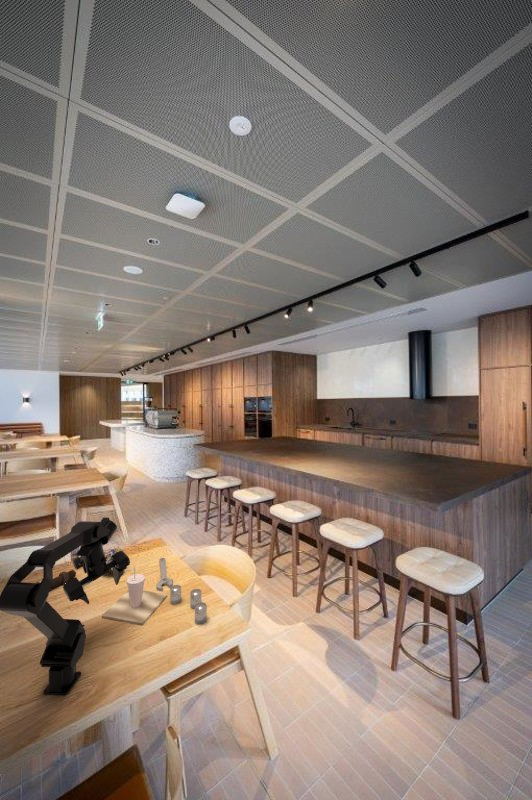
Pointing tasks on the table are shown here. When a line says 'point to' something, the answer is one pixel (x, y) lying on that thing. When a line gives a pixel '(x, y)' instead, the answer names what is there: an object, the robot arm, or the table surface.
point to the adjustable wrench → (163, 576)
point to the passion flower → (110, 555)
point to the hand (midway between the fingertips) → (102, 593)
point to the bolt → (62, 578)
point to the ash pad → (135, 615)
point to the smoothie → (135, 589)
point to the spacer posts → (191, 603)
